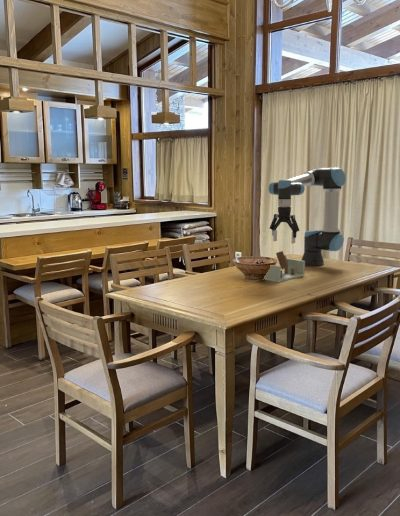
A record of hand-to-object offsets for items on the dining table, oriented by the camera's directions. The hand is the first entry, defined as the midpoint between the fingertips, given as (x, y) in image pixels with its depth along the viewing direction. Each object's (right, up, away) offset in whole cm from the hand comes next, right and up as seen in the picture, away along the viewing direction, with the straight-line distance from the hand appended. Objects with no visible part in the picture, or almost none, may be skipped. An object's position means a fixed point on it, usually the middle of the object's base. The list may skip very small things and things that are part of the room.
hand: (284, 242), depth 291 cm
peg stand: (0, -21, +4) cm, 21 cm away
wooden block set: (-1, -16, +4) cm, 16 cm away
